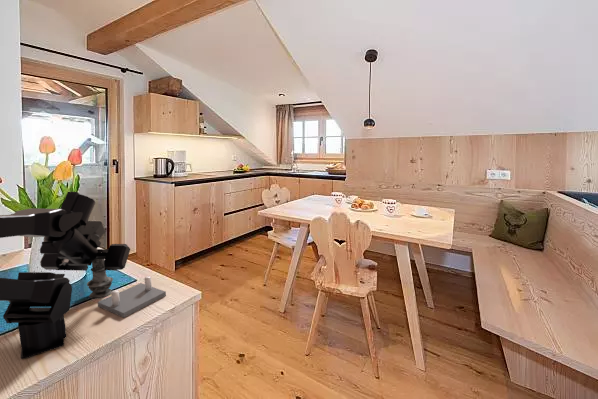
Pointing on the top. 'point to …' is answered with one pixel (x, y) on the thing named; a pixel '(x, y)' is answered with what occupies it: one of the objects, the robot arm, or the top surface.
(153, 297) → the pin tray
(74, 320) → the top surface
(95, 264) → the grey tall turned piece
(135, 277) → the top surface
